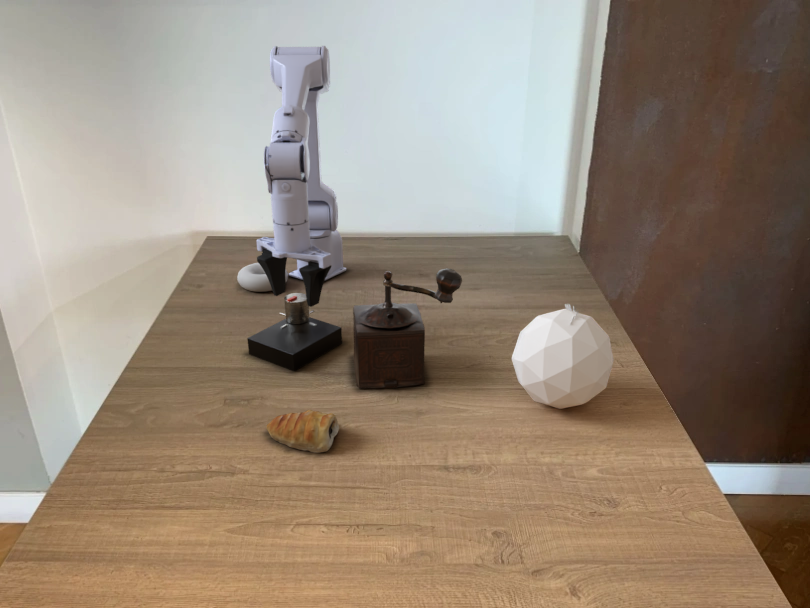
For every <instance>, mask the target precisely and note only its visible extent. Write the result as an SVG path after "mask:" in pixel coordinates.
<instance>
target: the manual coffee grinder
mask: <svg viewBox="0 0 810 608" xmlns="http://www.w3.org/2000/svg"><path fill="white" fill-rule="evenodd" d="M392 277H393V273H392V272H391V271H390V270H386V271H385V272H384V273H383V278H384V279H383V281H382V285H383V286H384V302H381V303H378V304H360V305H359V304H357V305H353V309H352V315H353V318H352V319H353V321H352V323H353V325H352V327H353V328H352V329H353V359H352V361H353V368H354V369H353V370H354V379H355V384H356V385H355V386H356V387H357V388H358V389H360V390H363V389H364V390H367V389H394V388H395V389H397V388H403V387H413V386H414V387H415V386H420V385H425V384H426V382H425V381H426V380H425V346H426V345H425V341H426V339H425V338H426V327H425V325H424V321H423V319H422V313H421V312H420V309H419V307H418V304H417V303H415V302H413V303H412V302H411V303H396V302H392V288H393V289H395V290H398V291H402V292H410V293H416V294H422V295H426V296H429V297H431V298H433V299H434V300H437V301H438V302H440V304H442V303H444V304H451V303H452V302H453V301H454V298H453V294H454V293H455V292H456V291H457V290H459V289H460V287H461V286H462V283H463V278H462V275H461V274H460V273H459V272H458V271H456V270H455V269H453V268H442V269H440V270H438V272H437V273H436V276H435V281H436V284H437V290H436V291H434V290H431V289H428V288H426V287H425V288H424V287H420V286H414V285H407V284H401V283H395V282H393V279H392Z"/></svg>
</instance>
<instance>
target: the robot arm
mask: <svg viewBox="0 0 810 608" xmlns="http://www.w3.org/2000/svg"><path fill="white" fill-rule="evenodd" d="M269 72H270V78H271V81H272V83H273V84H274V86H275V87H276V88H277V90H278V91H279V92H281V107H278V108H277V109H276V110H275V112H274V114H273V119H272V128H271V135H270V143H269V145H268V146H267V145H265V147H264V149H263V169H264V175H265V179H266V183H267V184H266V185H267V192H268V194H270V202H271V214H272V215H271V217H272V228H273V237H267V236H262V237H260V238H257V239H255V240H256V250H257V252H261V254H260V255H257V256H256V263H259V264H260V265H261V267H262V268H263V270H264V272H265V273H266V275H267V278H268V280H269V282H270V285H271V288H272V293H273V296H274V297H278V296H281V295H282V294H285V293H286V288H287V287H286V285H287V282H286V281H285V269H286V267H287V260H288V259H293V260H296V268H297V269H295V270H293V271H290V272H288V277H292V278H295V279H299V280H302V281H303V284H304V289H305V294H306V299H307V304H308V306H309V308H310V307H311V308H312V307H315V306H316V305H318V304H320V300H321V296H322V295H321V294H322V290H323V287H324V284H325V281H327V280H330V279H331V278H333V277H335V276H337V275H340V274H343V273H344V272H346V271H347V267H345V266H344V248H343V237H342V236H341V233H340V232H339V231H338V227H339V207H338V201H337V193H336V191H335V190H334V189H333V188H332V187H330V186H329V185H327V184H326V183H324V182H323V181H322V165H321V164H322V163H321V162H322V161H321V143H320V139H321V138H320V121H319V102H320V98H321V95H322V94H325V93H328V92H329V91H330V87H331V61H330V50H329V49H328V47H326V45H321V46H277V45H274V46H272V48H271V50H270V52H269ZM286 270H287V269H286Z"/></svg>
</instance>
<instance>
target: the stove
mask: <svg viewBox="0 0 810 608" xmlns="http://www.w3.org/2000/svg"><path fill="white" fill-rule="evenodd" d="M314 312H315V310H311V311H310V310H309V315H311V314H313V313H314ZM278 314H279V315H281V316H284V317H286V315H285V313H283V312H279V313H278ZM309 318H310V319H309V321H308V322H306V323H303V324H290V323H288V322H287V321H286V318H284V319H282V320H280V321H278V322H276V323H274V324H272V325H270V326H268V327H266V328H264V329H262V330H261V331H258V332H256V333H255V334H252V335H250V336H248V337H247V338H246V340H247V348H248V355H250V356H252V357H255V358H258V359H261V360H264V361H266V362H268V363H271V364H274V365H276V366H279V367H282V368H285V369H288V370H290V371H293V372H296V371H297V370H299V369H301V368H303V367H305V366H306V365H307V364H310V363H311V362H313V361H314V360H317V359H318V358H319V357H321V356H324V355H325V354H326V353H328V352H330V351H332V350H333V349H335V348H337V347H339V346H340V345H341V344H343V329H342V326H339V325H336V324H332V323H329V322H326V321H322V320H320V319H317V318H314V317H310V316H309Z"/></svg>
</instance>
